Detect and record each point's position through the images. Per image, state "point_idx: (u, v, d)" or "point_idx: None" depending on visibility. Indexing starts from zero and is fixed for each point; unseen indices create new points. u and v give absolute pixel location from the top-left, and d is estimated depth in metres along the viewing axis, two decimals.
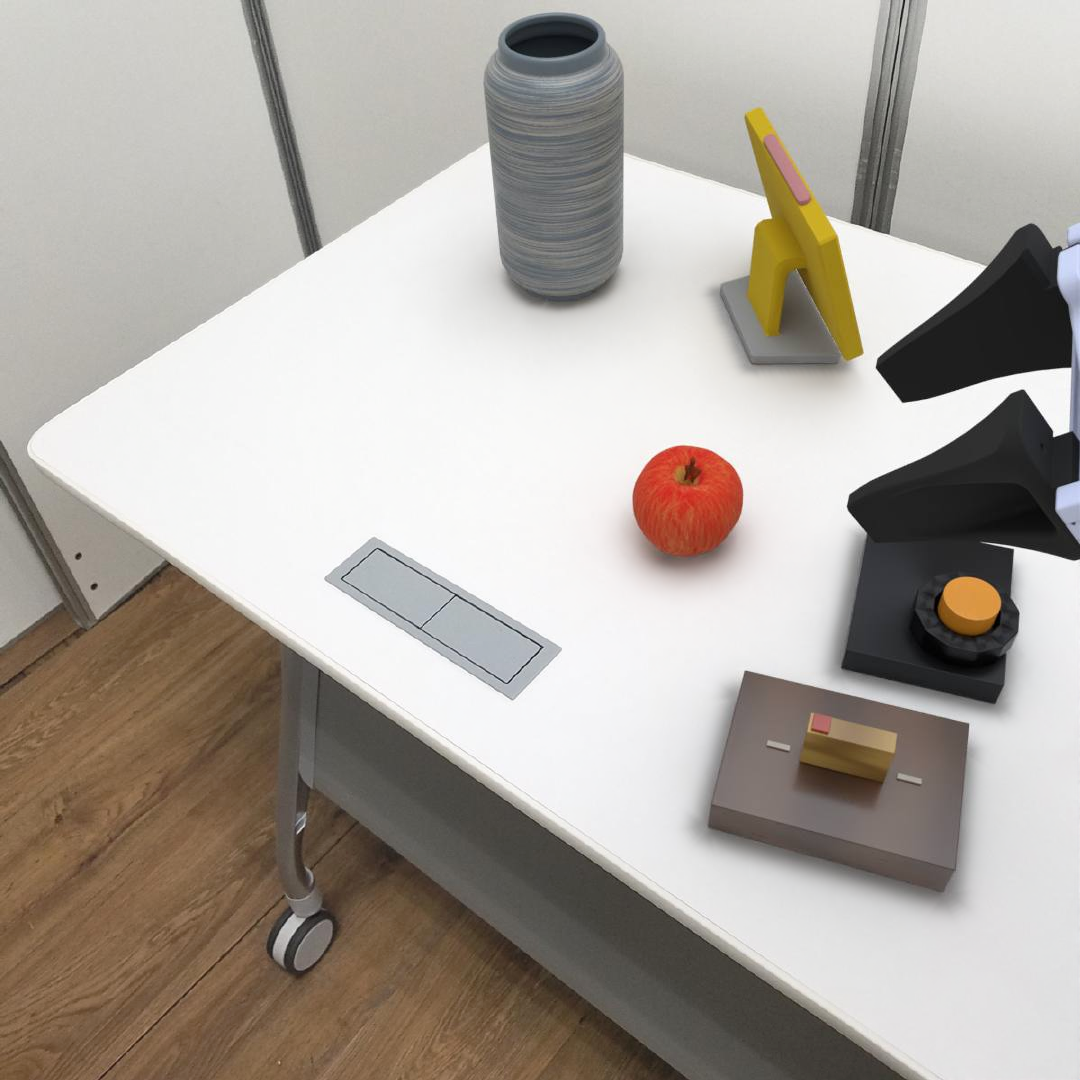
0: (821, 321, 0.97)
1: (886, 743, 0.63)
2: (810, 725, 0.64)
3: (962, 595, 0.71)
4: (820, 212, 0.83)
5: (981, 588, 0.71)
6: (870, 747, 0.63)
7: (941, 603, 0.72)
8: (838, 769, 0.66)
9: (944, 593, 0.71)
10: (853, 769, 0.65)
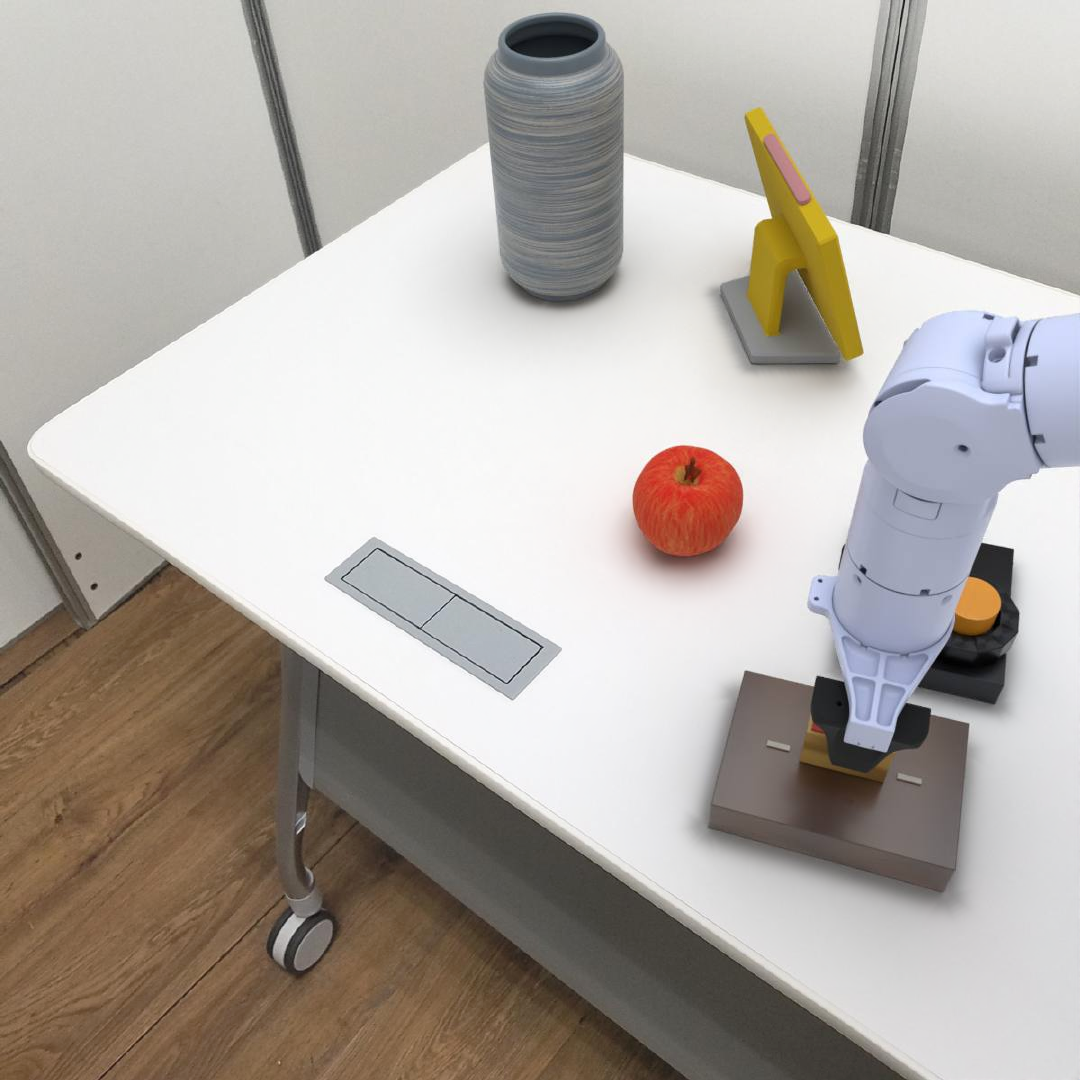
0: (821, 321, 0.97)
1: None
2: (810, 725, 0.64)
3: (962, 595, 0.71)
4: (820, 212, 0.83)
5: (981, 588, 0.71)
6: None
7: None
8: (838, 769, 0.66)
9: None
10: None
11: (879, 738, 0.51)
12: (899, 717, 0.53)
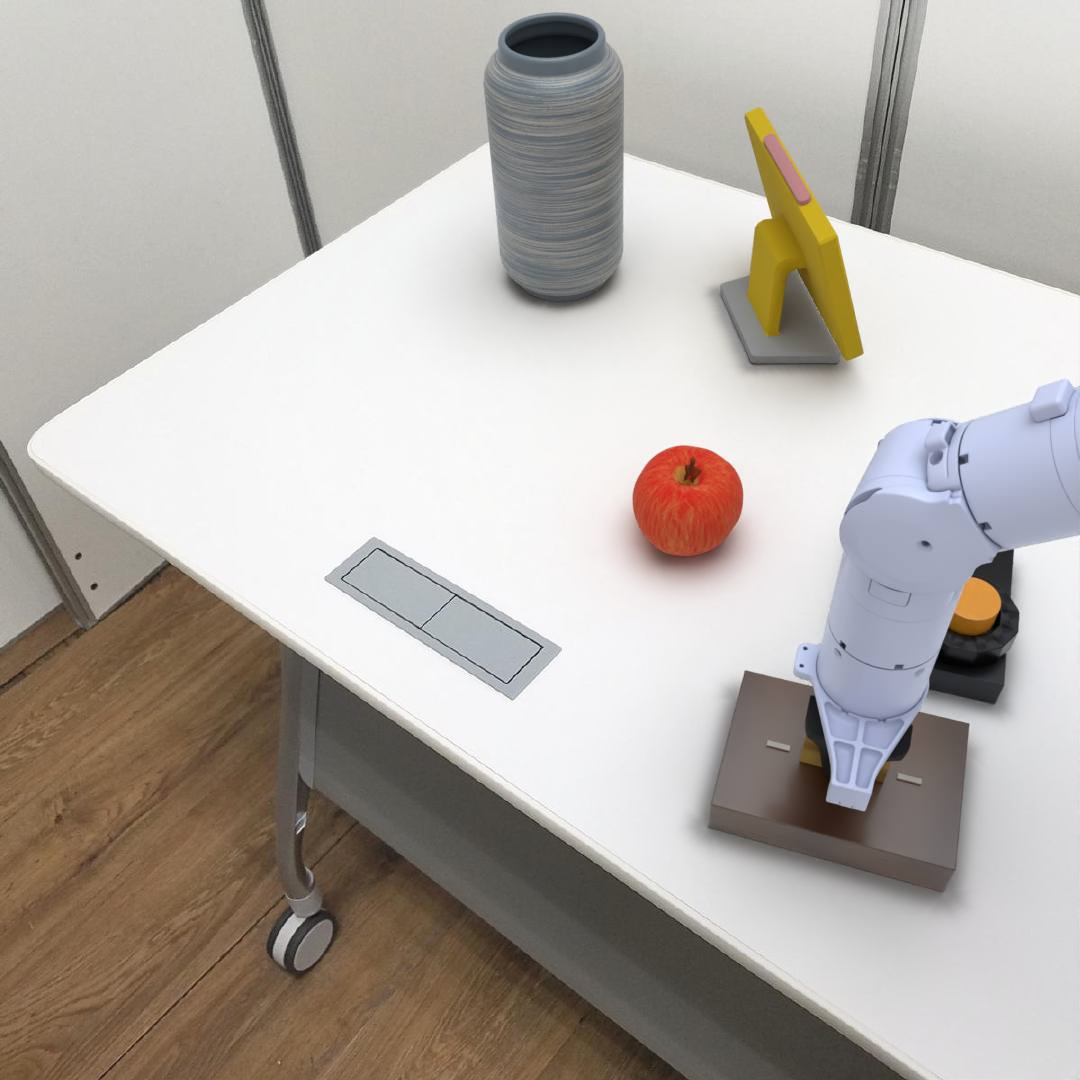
0: (821, 321, 0.97)
1: None
2: None
3: (962, 595, 0.71)
4: (820, 212, 0.83)
5: (981, 588, 0.71)
6: None
7: None
8: None
9: None
10: None
11: (858, 799, 0.55)
12: None
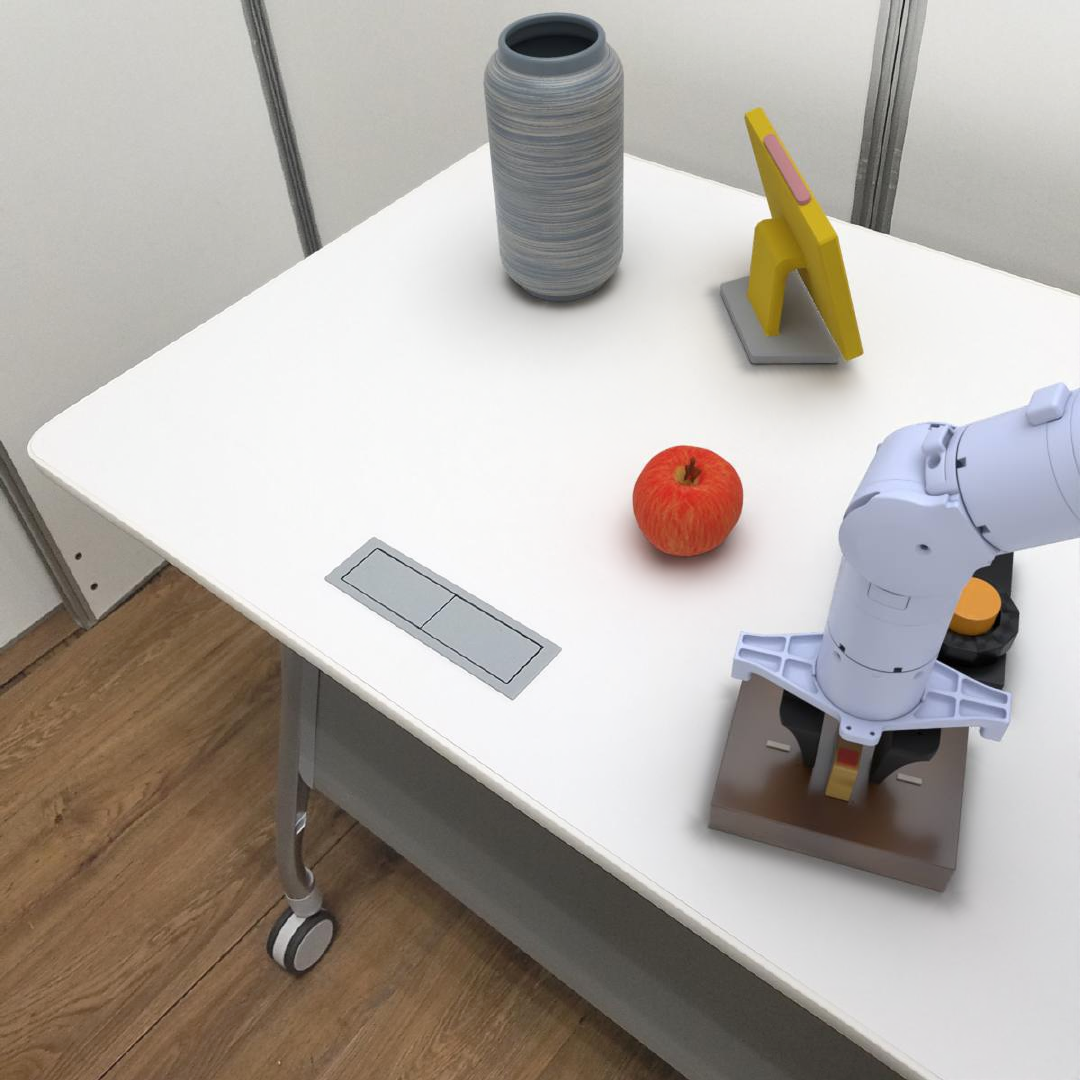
0: (821, 321, 0.97)
1: None
2: (850, 768, 0.62)
3: (962, 595, 0.71)
4: (820, 212, 0.83)
5: (981, 588, 0.71)
6: None
7: None
8: None
9: None
10: None
11: None
12: None
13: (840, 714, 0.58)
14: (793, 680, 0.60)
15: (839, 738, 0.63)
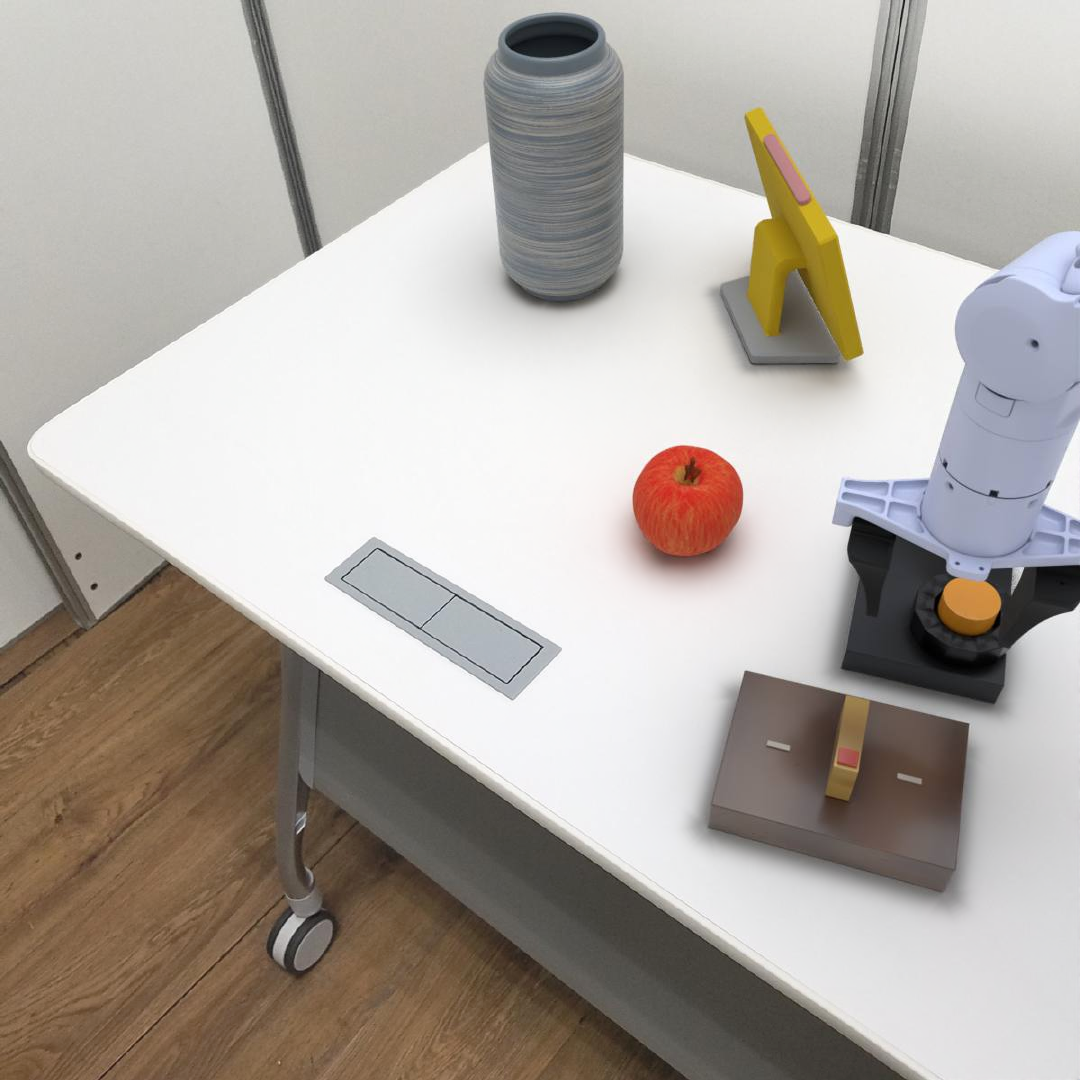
0: (821, 321, 0.97)
1: (860, 705, 0.65)
2: (850, 768, 0.62)
3: (962, 595, 0.71)
4: (820, 212, 0.83)
5: (981, 588, 0.71)
6: (866, 719, 0.64)
7: (941, 603, 0.72)
8: None
9: (944, 593, 0.71)
10: None
11: None
12: None
13: (948, 551, 0.57)
14: (897, 522, 0.60)
15: (839, 738, 0.63)
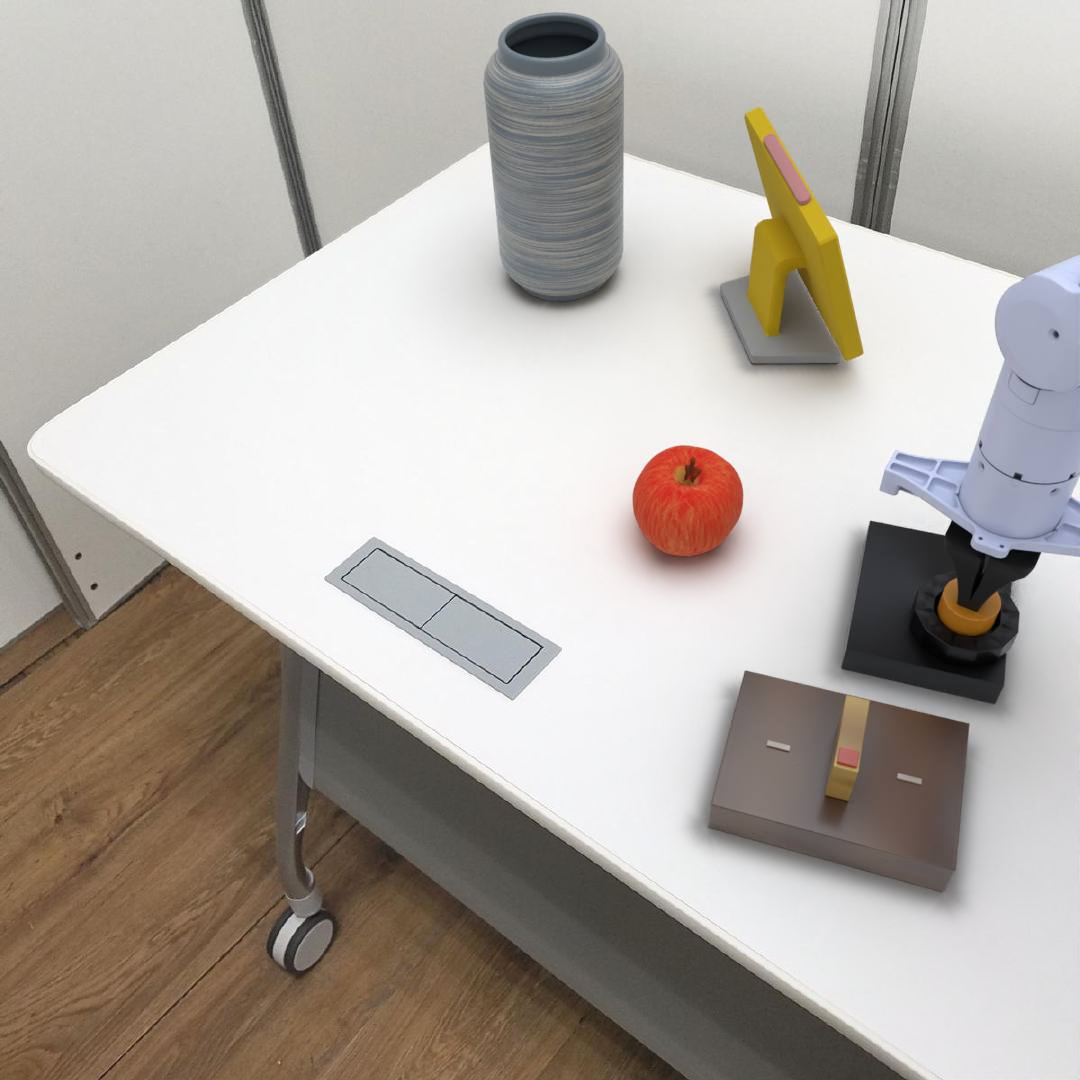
0: (821, 321, 0.97)
1: (860, 705, 0.65)
2: (850, 768, 0.62)
3: None
4: (820, 212, 0.83)
5: None
6: (866, 719, 0.64)
7: (941, 603, 0.72)
8: None
9: (944, 593, 0.71)
10: None
11: None
12: None
13: (975, 527, 0.63)
14: (936, 496, 0.65)
15: (839, 738, 0.63)
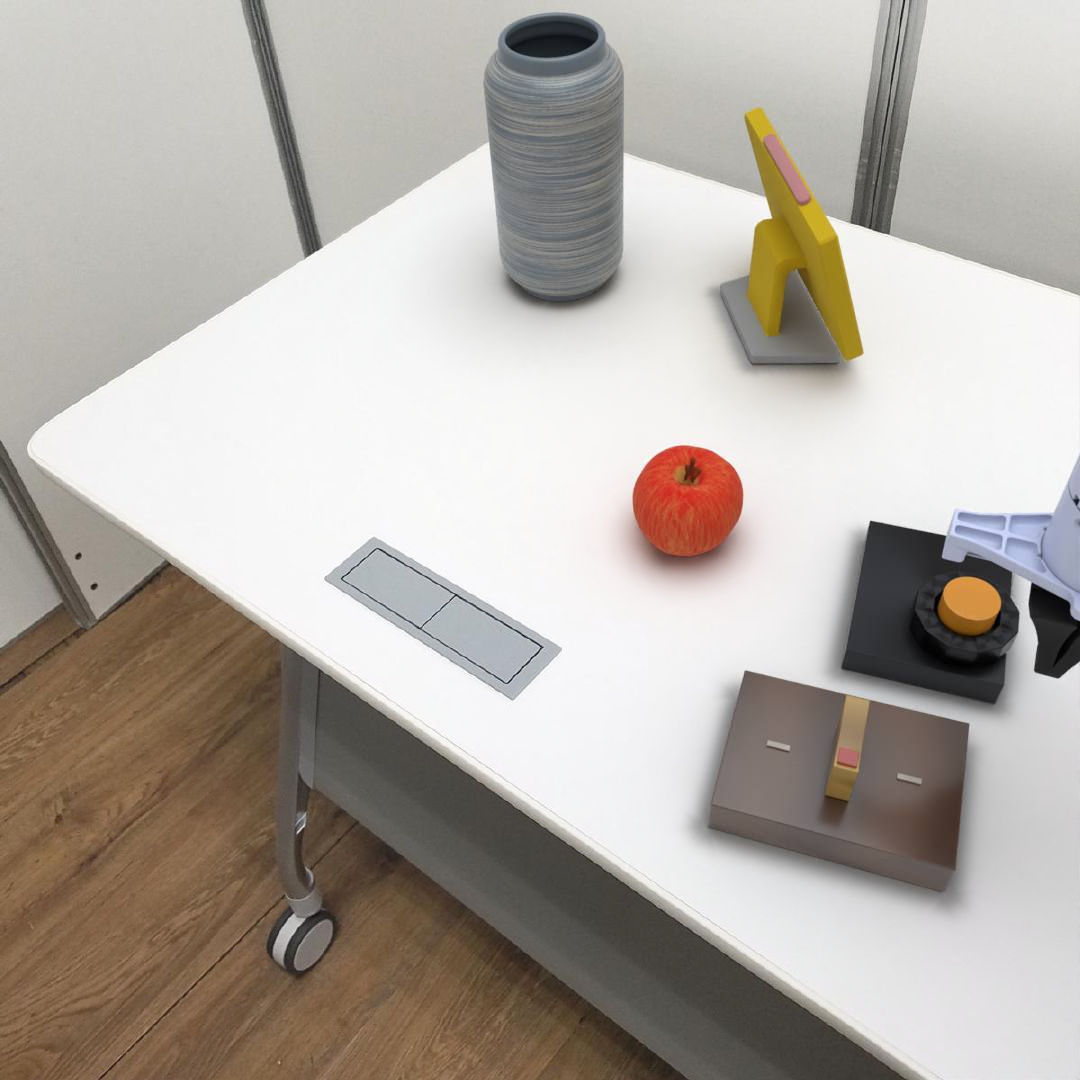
0: (821, 321, 0.97)
1: (860, 705, 0.65)
2: (850, 768, 0.62)
3: (962, 595, 0.71)
4: (820, 212, 0.83)
5: (981, 588, 0.71)
6: (866, 719, 0.64)
7: (941, 603, 0.72)
8: None
9: (944, 593, 0.71)
10: None
11: None
12: None
13: (1072, 593, 0.53)
14: (1016, 559, 0.56)
15: (839, 738, 0.63)
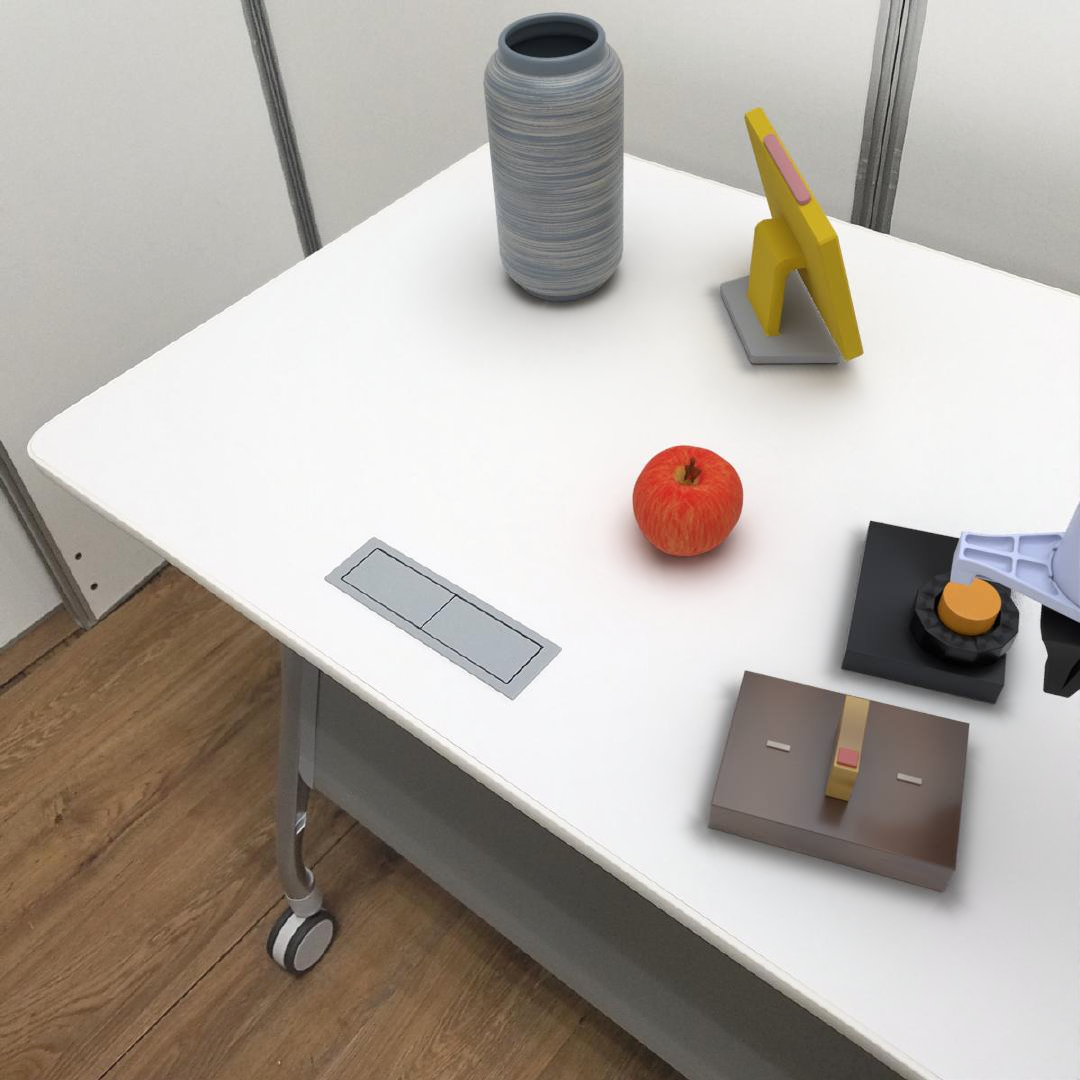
0: (821, 321, 0.97)
1: (860, 705, 0.65)
2: (850, 768, 0.62)
3: (962, 595, 0.71)
4: (820, 212, 0.83)
5: (981, 588, 0.71)
6: (866, 719, 0.64)
7: (941, 603, 0.72)
8: None
9: (944, 593, 0.71)
10: None
11: None
12: None
13: None
14: (1026, 582, 0.54)
15: (839, 738, 0.63)
